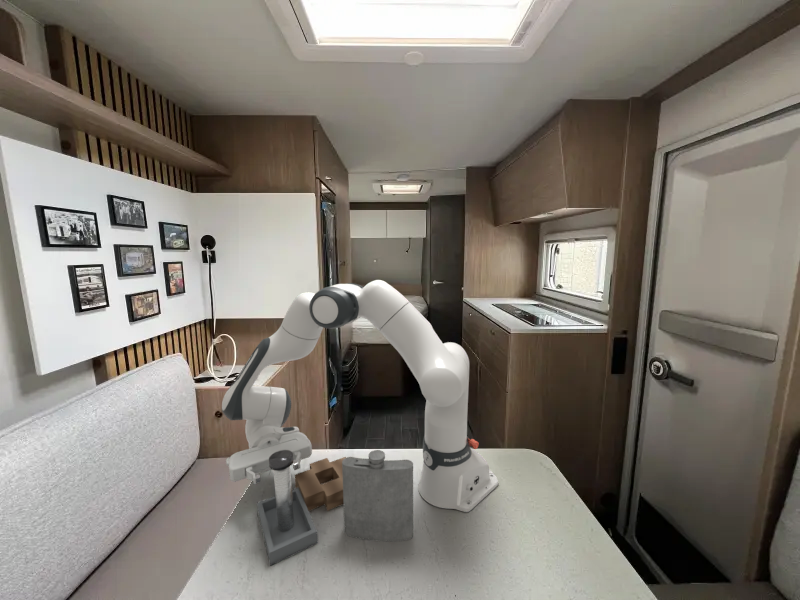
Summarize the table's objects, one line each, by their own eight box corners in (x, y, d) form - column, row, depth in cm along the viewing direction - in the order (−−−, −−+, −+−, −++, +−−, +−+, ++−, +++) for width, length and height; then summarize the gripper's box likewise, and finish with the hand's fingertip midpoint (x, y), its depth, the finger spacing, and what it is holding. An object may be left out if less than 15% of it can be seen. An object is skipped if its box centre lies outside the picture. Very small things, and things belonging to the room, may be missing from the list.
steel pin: (294, 513, 80) (290, 447, 77) (300, 528, 75) (295, 458, 73) (272, 522, 77) (266, 454, 74) (277, 538, 73) (271, 467, 70)
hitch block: (342, 464, 99) (342, 452, 98) (364, 495, 86) (363, 481, 86) (293, 482, 91) (292, 469, 90) (308, 519, 78) (307, 504, 78)
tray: (298, 497, 86) (298, 487, 85) (317, 543, 72) (317, 531, 72) (257, 513, 80) (257, 502, 80) (270, 565, 67) (269, 553, 66)
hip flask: (413, 528, 76) (413, 449, 73) (412, 544, 72) (412, 461, 69) (346, 524, 77) (343, 446, 74) (341, 539, 73) (338, 457, 70)
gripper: (224, 446, 85) (228, 477, 73) (302, 424, 96) (317, 448, 84) (226, 468, 86) (230, 502, 74) (303, 444, 96) (318, 470, 85)
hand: (277, 473), depth 79 cm, fingers open, 8 cm apart
